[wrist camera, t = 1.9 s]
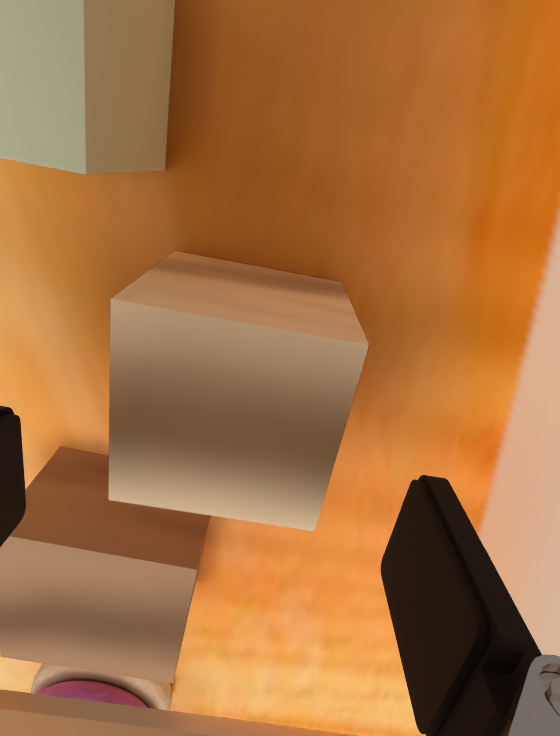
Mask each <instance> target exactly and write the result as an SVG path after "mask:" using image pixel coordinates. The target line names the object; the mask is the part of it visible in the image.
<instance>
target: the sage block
mask: <svg viewBox="0 0 560 736" xmlns="http://www.w3.org/2000/svg"><path fill="white" fill-rule="evenodd" d="M174 10H175V0H0V158H2V159H7V160H12V161H18V162H23V163H28V164H33V165H38V166H43V167H49V168H54V169H59V170H64V171H69V172H74V173H79V174H85V175H91V174H110V173H129V172H148V171H165V162H166V145H167V129H168V112H169V95H170V78H171V61H172V44H173V27H174Z"/></svg>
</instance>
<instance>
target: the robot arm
mask: <svg viewBox="0 0 560 736" xmlns="http://www.w3.org/2000/svg"><path fill="white" fill-rule="evenodd" d="M25 510H26V495H25V480H24V466H23V451H22V437H21V422H20V418H19V416H17V415H14V412H13V410H12V409H11V408H9V407H4V406H0V547H1V546H2V545H3V543H4V542H5V541H6V540H7V538H8V537H9V536H10V535H11V533H12V532H13V531H14V529H15V528H16V527H17V526H18V524H19V523H20V522H21V520H22V518H23V516H24V514H25ZM381 576H382V581H383V585H384V589H385V593H386V598H387V602H388V606H389V610H390V615H391V619H392V623H393V627H394V632H395V636H396V640H397V644H398V648H399V653H400V657H401V661H402V665H403V670H404V674H405V678H406V682H407V687H408V691H409V695H410V699H411V704H412V708H413V712H414V716H415V721H416V724H417V727H418V730H419V731H420V732H421V734H426V736H560V657H559V656H556V655H542V654H541V652H540V650H539V649H538V647H537V645H536V643H535V641H534V639H533V637H532V636H531V634H530V632H529V630H528V628H527V626H526V624H525V622H524V621H523V619H522V617H521V615H520V613H519V611H518V609H517V607H516V606H515V604H514V602H513V600H512V598H511V596H510V594H509V593H508V591H507V589H506V587H505V585H504V583H503V581H502V579H501V578H500V576H499V574H498V572H497V570H496V568H495V566H494V564H493V563H492V561H491V559H490V557H489V555H488V553H487V551H486V550H485V548H484V546H483V545H482V543H481V541H480V539H479V537H478V535H477V533H476V531H475V530H474V528H473V526H472V524H471V522H470V520H469V518H468V517H467V515H466V513H465V511H464V509H463V507H462V505H461V503H460V502H459V500H458V498H457V496H456V494H455V492H454V490H453V488H452V487H451V485H450V483H449V481H448V480H447V479H445V478H439V477H433V476H427V475H422V476H420V478H419V479H418V480H413V481H412V482H411V484H410V486H409V489H408V491H407V494H406V497H405V499H404V502H403V505H402V507H401V510H400V513H399V515H398V518H397V521H396V523H395V526H394V529H393V531H392V534H391V537H390V539H389V542H388V545H387V547H386V550H385V553H384V555H383V558H382V562H381ZM0 736H356V735H349V734H341V733H334V732H326V731H319V730H311V729H304V728H296V727H289V726H282V725H274V724H267V723H259V722H252V721H244V720H237V719H229V718H222V717H214V716H206V715H198V714H190V713H183V712H175V711H167V710H159V709H152V708H144V707H136V706H128V705H120V704H112V703H105V702H97V701H89V700H81V699H73V698H65V697H57V696H49V695H41V694H33V693H25V692H16V691H8V690H0Z"/></svg>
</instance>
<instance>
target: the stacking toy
mask: <svg viewBox="0 0 560 736" xmlns="http://www.w3.org/2000/svg"><path fill="white" fill-rule="evenodd" d="M31 693H33V694H41V695H49V696H57V697H65V698H73V699H81V700H89V701H97V702H105V703H112V704H120V705H128V706H136V707H144V708H152V709H159V710H167V711H169V710H170V707H171V701H172V691H171V686H170V683H165V682H159V681H152V680H146V679H140V678H133V677H127V676H121V675H114V674H108V673H101V672H95V671H89V670H82V669H76V668H70V667H63V666H57V665H51V664H44V663H43V664H42V666H41V667H40V668H39V670H38V671H37V673H36V676H35V678H34V681H33V684H32V691H31Z"/></svg>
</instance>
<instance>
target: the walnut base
mask: <svg viewBox="0 0 560 736" xmlns="http://www.w3.org/2000/svg"><path fill="white" fill-rule="evenodd" d="M25 495H26V510H25V514H24V516H23V518H22V520H21V522H20V523H19V524H18V526H17V527H16V528H15V529H14V531H13V532H12V533H11V535H10V536H9V537H8V538H7V540H6V541H5V542H4V543H3V545H2V546H1V547H0V655H1V657H6V658H12V659H19V660H25V661H31V662H38V663H44V664H51V665H57V666H63V667H70V668H76V669H82V670H89V671H95V672H101V673H108V674H114V675H121V676H127V677H133V678H140V679H146V680H152V681H159V682H165V683H171V684H173V680H174V676H175V672H176V667H177V663H178V658H179V654H180V649H181V645H182V641H183V636H184V632H185V627H186V623H187V618H188V614H189V609H190V605H191V601H192V596H193V592H194V587H195V583H196V578H197V574H198V569H199V564H200V560H201V555H202V551H203V546H204V541H205V537H206V532H207V528H208V523H209V518H210V515H204V514H197V513H191V512H184V511H178V510H171V509H165V508H158V507H152V506H145V505H138V504H132V503H125V502H119V501H112V500H108V498H109V456H105V455H100V454H95V453H90V452H85V451H80V450H75V449H70V448H65V447H60V448H59V449H58V450H57V451H56V453H55V454H54V455H53V456H52V458H51V459H50V460H49V461H48V463H47V464H46V465H45V466H44V468H43V469H42V470H41V471H40V472H39V474H38V475H37V476H36V477H35V479H34V480H33V481H32V482H31V484H30V485H29V486H28V487H27V489H26V490H25Z"/></svg>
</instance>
